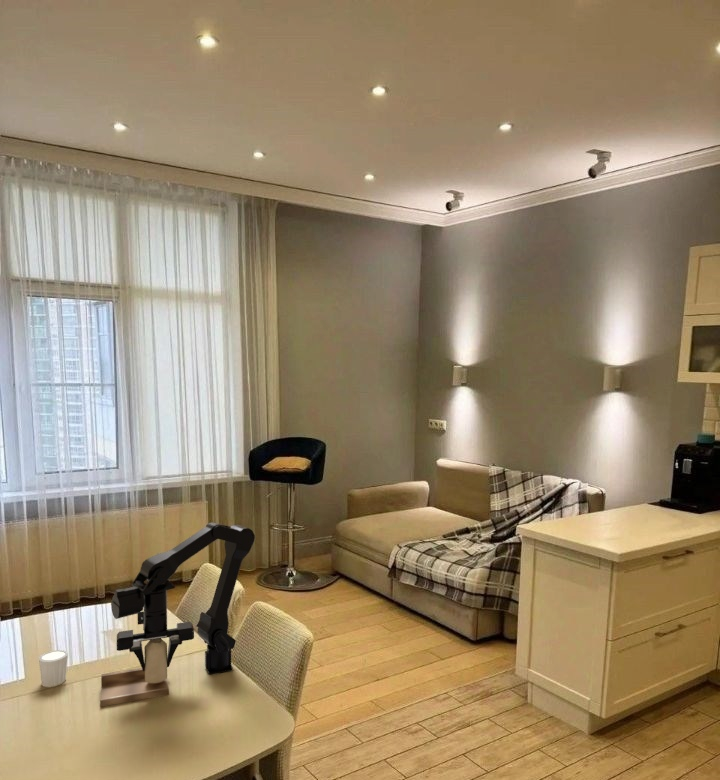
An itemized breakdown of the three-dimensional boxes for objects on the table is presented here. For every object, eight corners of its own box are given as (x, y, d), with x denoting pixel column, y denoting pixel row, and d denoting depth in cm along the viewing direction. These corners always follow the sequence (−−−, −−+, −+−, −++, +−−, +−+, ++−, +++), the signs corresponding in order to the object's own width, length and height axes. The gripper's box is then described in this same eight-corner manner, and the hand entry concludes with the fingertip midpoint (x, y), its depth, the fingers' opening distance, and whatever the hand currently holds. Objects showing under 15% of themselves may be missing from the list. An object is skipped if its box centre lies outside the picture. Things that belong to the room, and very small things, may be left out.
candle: (160, 684, 154) (159, 645, 153) (140, 682, 155) (140, 643, 155) (171, 674, 159) (170, 636, 159) (152, 672, 160) (151, 634, 160)
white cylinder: (38, 690, 156) (38, 663, 156) (39, 678, 162) (38, 652, 162) (68, 684, 159) (68, 657, 159) (67, 673, 165) (67, 647, 165)
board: (166, 678, 162) (166, 663, 162) (168, 694, 154) (168, 679, 154) (101, 689, 157) (101, 674, 157) (100, 706, 148) (100, 690, 148)
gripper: (189, 593, 167) (190, 649, 168) (116, 602, 161) (117, 661, 161) (194, 607, 157) (194, 667, 157) (116, 618, 150) (117, 680, 151)
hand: (156, 668), depth 157 cm, fingers closed on candle, 5 cm apart
